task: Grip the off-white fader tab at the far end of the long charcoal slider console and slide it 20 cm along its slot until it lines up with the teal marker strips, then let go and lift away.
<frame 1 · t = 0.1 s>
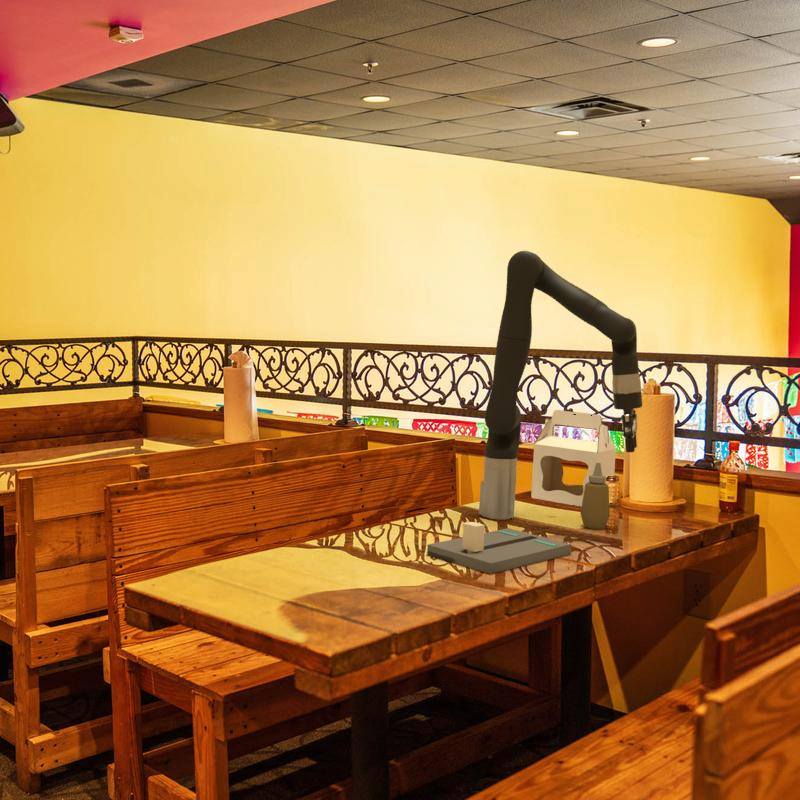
hand: (631, 449, 265), 22 cm above the table, tool pointing down, fingers open, 8 cm apart
gable box: (571, 501, 306), on the table
console: (499, 554, 236), on the table
squeeze bottle: (594, 527, 270), on the table
fader tab: (473, 539, 228), point 5 cm above the table, slide at 0.0 cm
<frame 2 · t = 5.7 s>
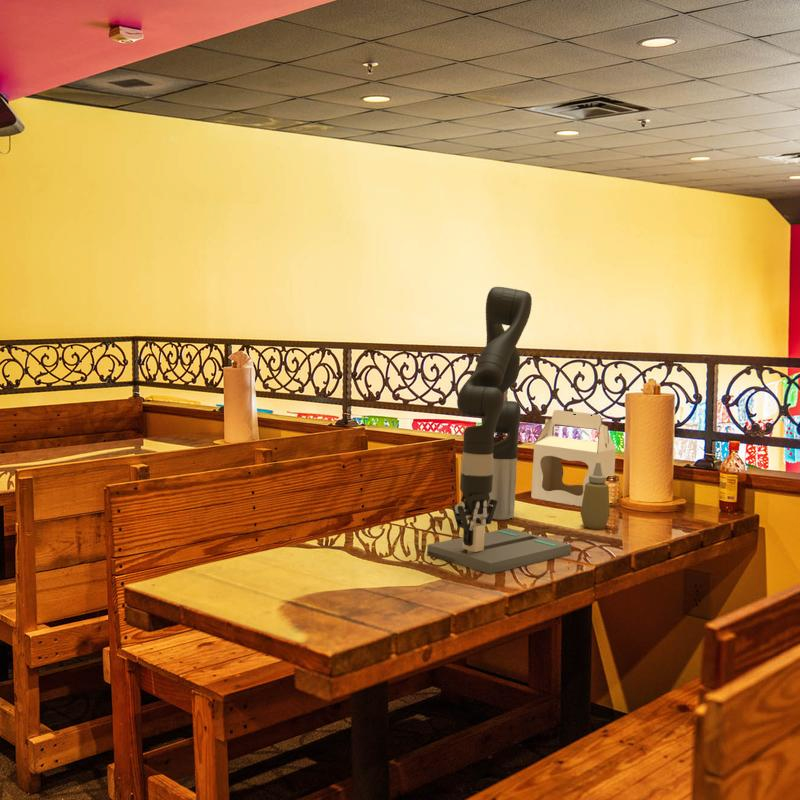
hand: (473, 543, 228), 4 cm above the table, tool pointing down, fingers closed on fader tab, 3 cm apart
fader tab: (473, 539, 228), point 5 cm above the table, slide at 0.0 cm, touching gripper
everything else where it was.
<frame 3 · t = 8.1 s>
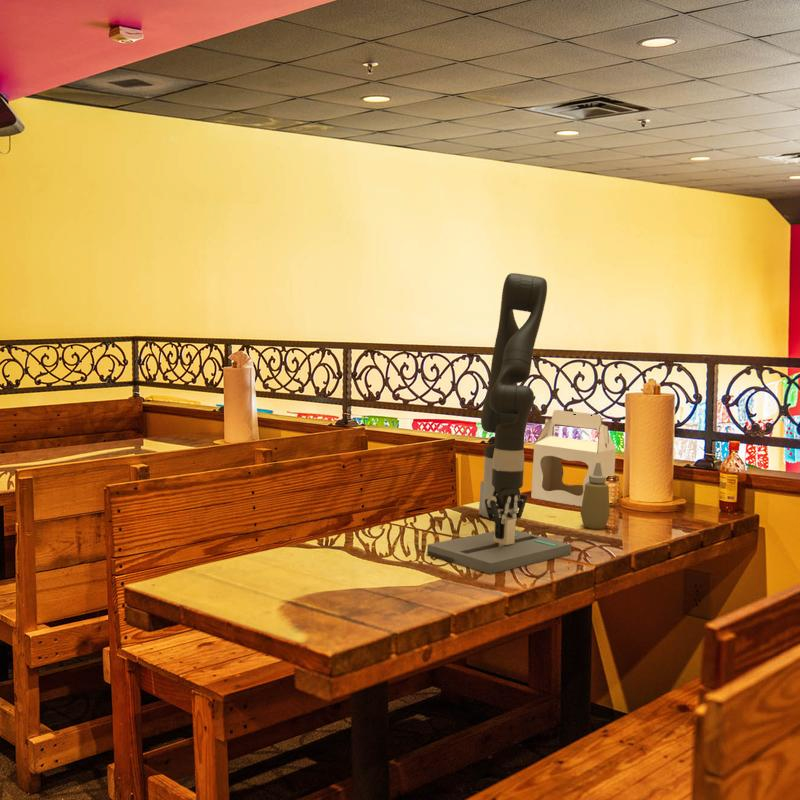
hand: (504, 537, 236), 4 cm above the table, tool pointing down, fingers closed on fader tab, 3 cm apart
fader tab: (504, 533, 236), point 5 cm above the table, slide at 11.3 cm, touching gripper
everything else where it was.
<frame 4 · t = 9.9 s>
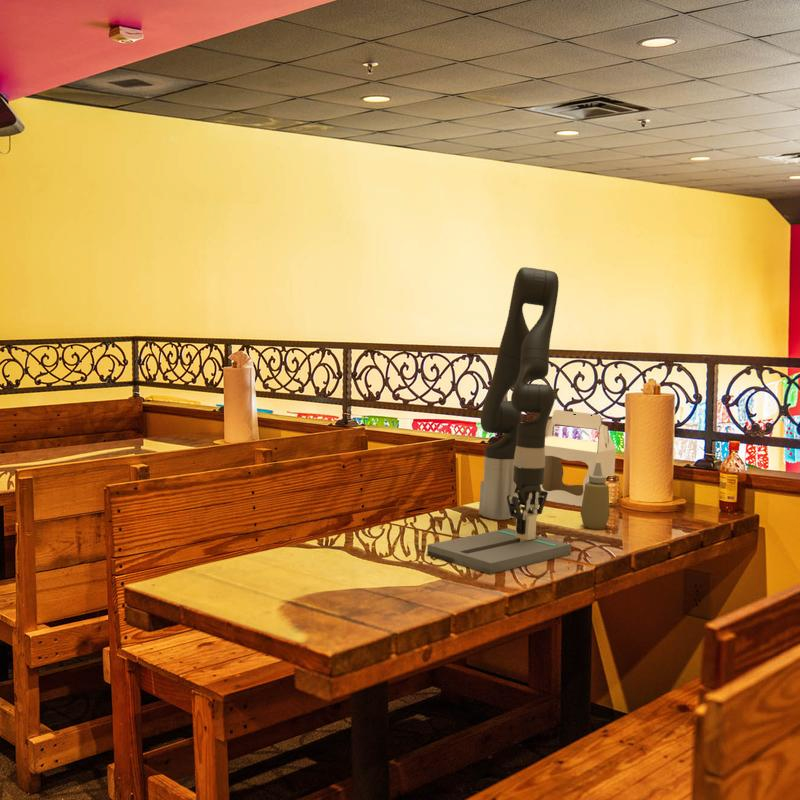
hand: (525, 532, 242), 4 cm above the table, tool pointing down, fingers closed on fader tab, 3 cm apart
fader tab: (525, 528, 242), point 5 cm above the table, slide at 19.5 cm, touching gripper
everything else where it was.
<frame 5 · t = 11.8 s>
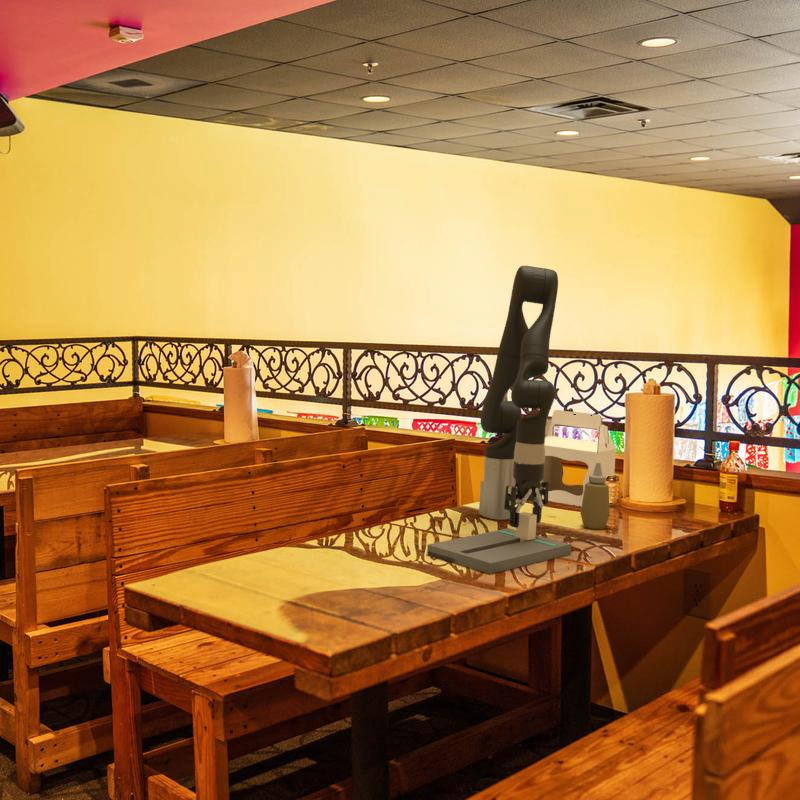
hand: (525, 524, 242), 6 cm above the table, tool pointing down, fingers open, 8 cm apart
fader tab: (525, 528, 242), point 5 cm above the table, slide at 19.5 cm
everything else where it was.
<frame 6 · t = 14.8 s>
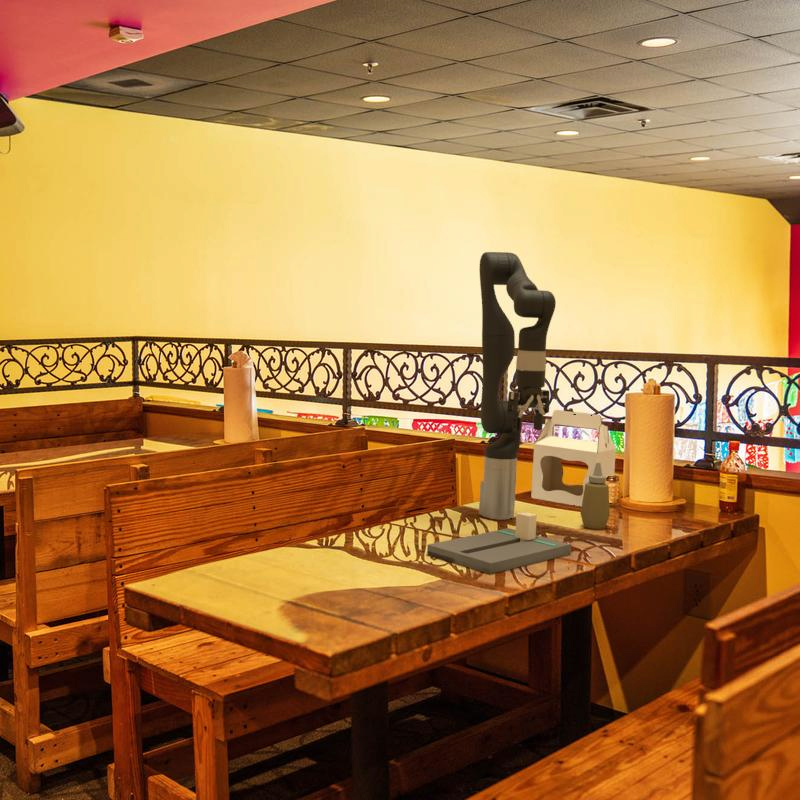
hand: (527, 430, 251), 28 cm above the table, tool pointing down, fingers open, 8 cm apart
nothing on the table moved.
at the end: fader tab slide at 19.5 cm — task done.
